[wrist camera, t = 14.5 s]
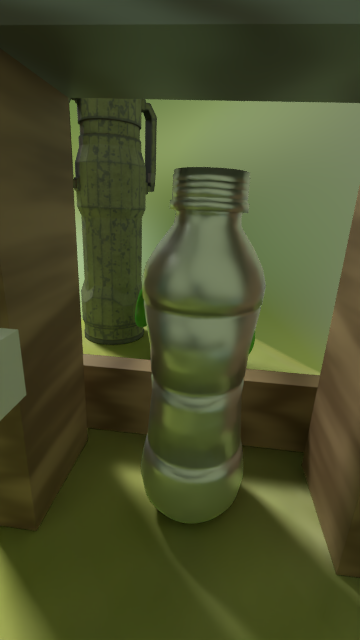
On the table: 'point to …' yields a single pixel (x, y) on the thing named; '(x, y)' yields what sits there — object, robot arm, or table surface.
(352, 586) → the table surface
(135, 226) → the thermos
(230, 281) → the plastic bottle
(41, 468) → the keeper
